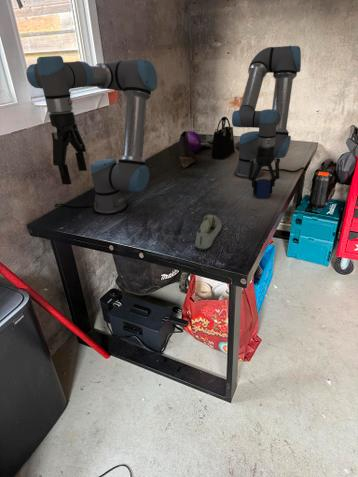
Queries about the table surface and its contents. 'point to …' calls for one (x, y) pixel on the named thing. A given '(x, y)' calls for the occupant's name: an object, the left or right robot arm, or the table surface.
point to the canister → (263, 188)
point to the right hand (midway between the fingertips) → (262, 193)
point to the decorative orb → (193, 141)
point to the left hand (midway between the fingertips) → (75, 177)
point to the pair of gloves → (207, 141)
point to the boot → (186, 151)
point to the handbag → (223, 140)
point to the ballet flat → (207, 232)
